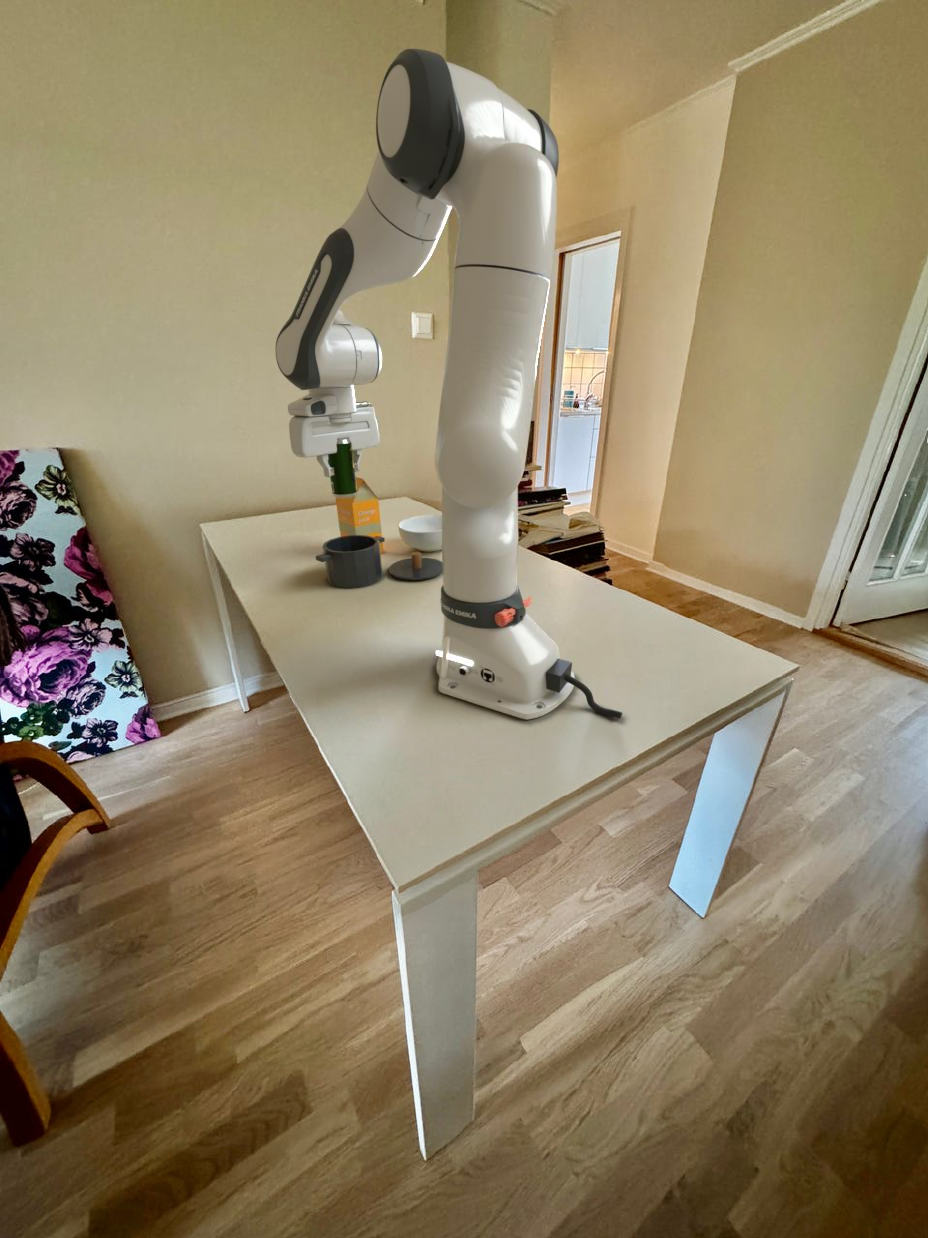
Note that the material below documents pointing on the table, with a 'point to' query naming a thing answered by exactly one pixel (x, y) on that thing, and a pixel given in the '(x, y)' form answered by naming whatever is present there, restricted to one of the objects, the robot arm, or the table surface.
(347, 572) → the pot
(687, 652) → the table surface
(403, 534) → the cereal bowl
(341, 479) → the beer can
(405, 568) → the pot lid
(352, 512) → the orange juice
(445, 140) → the robot arm
